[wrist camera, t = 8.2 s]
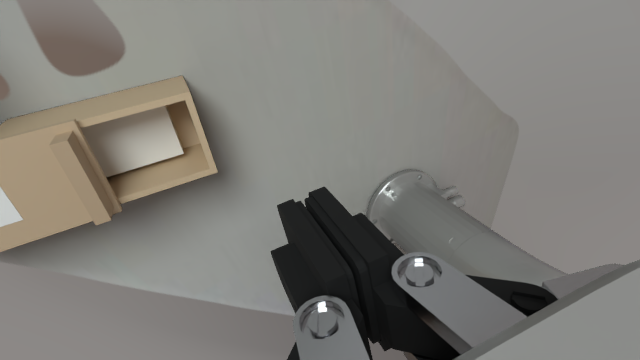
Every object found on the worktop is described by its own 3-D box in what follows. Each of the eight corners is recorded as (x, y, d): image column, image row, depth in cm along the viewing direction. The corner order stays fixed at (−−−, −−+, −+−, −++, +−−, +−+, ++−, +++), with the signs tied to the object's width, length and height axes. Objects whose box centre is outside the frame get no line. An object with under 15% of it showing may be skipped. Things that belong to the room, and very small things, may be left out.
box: (182, 75, 38) (189, 91, 31) (206, 145, 42) (217, 172, 35) (7, 119, 34) (-27, 148, 27) (52, 192, 38) (32, 232, 31)
